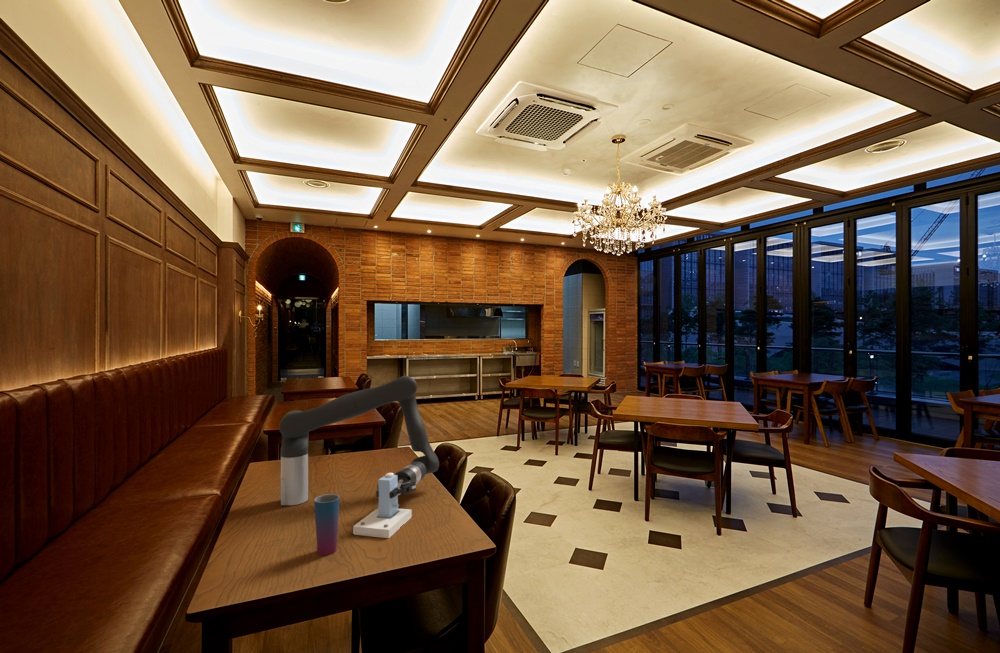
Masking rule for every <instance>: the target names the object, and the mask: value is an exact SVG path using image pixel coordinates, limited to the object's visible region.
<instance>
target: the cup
mask: <svg viewBox="0 0 1000 653" xmlns="http://www.w3.org/2000/svg"><path fill="white" fill-rule="evenodd" d="M313 503H314V504H313V505H314V507H313V508H314V519H315V534H316V549H317V555H318V556H329V555H333V554H335V553H336V552H337V548H338V546H337V545H338V544H337V543H338V531H339V513H340V512H339V511H340V495H339V494H336V493H328V494H327V493H326V494H322V495H319V496H316V497H315V498H314V500H313Z"/></svg>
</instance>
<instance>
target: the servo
mask: <svg viewBox="0 0 1000 653" xmlns="http://www.w3.org/2000/svg"><path fill="white" fill-rule="evenodd" d="M377 481H378V482H377V485H378V486H379V497H378V504H377V508H378V507H379V517H385V518H388V519H391V518H392V516H393V515H394V514H395V513H397V512H398V508H399V506H400V504H399V495H397V496H395V497H393V498H392V499H391V498H390V495H389V493H390V491H392V490H393V489H394V488H396V487H397V486H398V475H395V473H393V472H387V473H385V475H383V476H382V477H380V478H379V479H378V480H377Z"/></svg>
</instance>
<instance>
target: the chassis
mask: <svg viewBox="0 0 1000 653" xmlns="http://www.w3.org/2000/svg"><path fill="white" fill-rule="evenodd" d="M412 510H413V509H410V508H408V509H407V508H399V507H398V512H397V513H395V514H394V515H393V516H392V517H391V518H385V517H379V507H378V506H377V508H376V509H374V510H373V511H372V512H370V513H369V514H368V515H366V516H365V517H364V518H362V519H361V520H360V521H359V522H357V523H356V524H354V525H353V526H352V527H353V530H352V535H353V534H354V535H353V536H356V535H357V536H364V537H375V538H383V539H390V538H391V537H392V536H393V535H394V534H395V533H396V532H397V531H399V530H400V527H401V526H402V525H403V524H404V525H405V524H406V523H407V522H408V521H409V520H411V519H412V516H413V515H412V513H413V512H412ZM404 525H403V526H404ZM403 526H402V527H403ZM402 527H401V528H402Z"/></svg>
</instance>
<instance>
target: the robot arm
mask: <svg viewBox="0 0 1000 653" xmlns="http://www.w3.org/2000/svg"><path fill="white" fill-rule="evenodd" d="M417 390H418V383H417V381H416V380H415V379H414V378H413V377H411V376H408V375H403V376H400V377H398V378H396V379H394V380H391V381H390V382H387V383H384V384H382V385H378V386H376V387H375V386H374V387H369V388H365V389H362V390H357V391H353V392H351V393H346V394H344V395H341V396H339V397H336V398H334V399H332V400H329V401H327V402H325V403H324V404H322V405H320V406H317V407H314V408H310V409H306V410H303V411H302V410H299V409H298V410H297V409H294V410H290V411H288V412H287V413H286V414H284V416H283V417H282V419H281V420H280V422H279V426H278V427H279V433H280V434H281V445H280V446H281V447H280V506H281V507H282V505H283V506H297V505H302V504H303V503H306V502H308V500H309V443H310V439H309V434H310V432H311V431H314V430H317V429H318V428H321V427H324V426H325V427H326V426H328V425H332V424H336V423H339V422H340V423H341V422H343V421H347V420H350V419H353V418H357V417H358V416H362V415H364V414H367V413H369V412H372V411H373V410H376V409H378V408H379V407H382V406H384V405H387V404H390V403H394V402H398V403H399V405H400V408H401V411H402V415H403V417H404V421H405V422H404V423H405V427H406V432H407V435H408V439H409V443H410V447H411V450H412V451H413V452H416V453H417V452H418V453H419V452H420V453H423V455H422V456H417V457H415V458H413V459H412V460H411V462H410V464H408V465H406V466H404V467H403V468H400V469H399V471H397V472H396V473H394V475H398V486H397V487H396V488H394V489H393V490H392V491H390V493H389V495H390V498H391V499H392V498H393V497H395V496H397V495H398V496H400V495H402V496H403V495H404V496H405V495H408V494H410V493H412V492H414V491H416V489H417V484H418V483H419V482H420V481H422V480H423V479H424V477H425V476H426V475H428V474H433V473H435V472H437V471H438V470H439V467H440V461H439V457H438V456H437V454H436V453H435V450H433V447H432V445H431V443H430V441H429V438H428V435H427V431H426V428H425V425H424V422H423V419H422V416H421V414H420V411H419V407H418V404H417V398H416V393H417V392H418V391H417ZM376 487H377V488H376V489H377V490H376V492H375V494H376V497H377V498H379V486H378V484H377V486H376Z"/></svg>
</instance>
